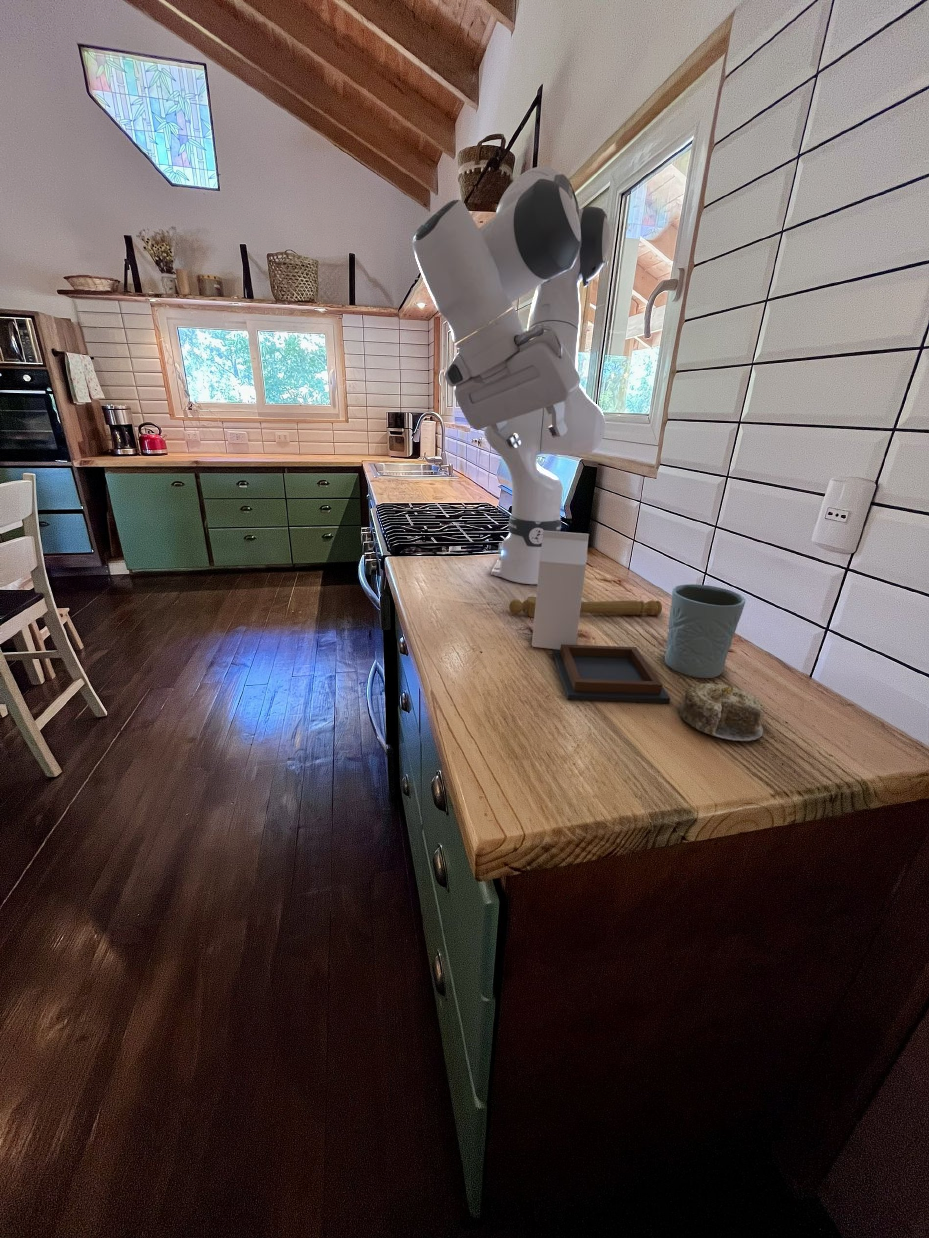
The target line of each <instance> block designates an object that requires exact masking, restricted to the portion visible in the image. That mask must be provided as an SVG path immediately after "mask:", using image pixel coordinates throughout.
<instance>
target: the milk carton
mask: <svg viewBox="0 0 929 1238" xmlns="http://www.w3.org/2000/svg"><path fill="white" fill-rule="evenodd" d="M589 536H590V534H589V533H582V532H569V531H560V532H557V531H543V538H542V546H541V554H540V562H539V573H538V584H536V593H535V594H536V596H535V597H536V605H535V616H534V617H533V628H532V640H531V647H533V648H541V649H542V648H543V649H550V650H560V649H561V644H564V645H577V638H578V630H579V623H580V615H581V613H580V608H581V602H582V599H583V591H584V584H585V578H586V577H585V576H586V569H587V559H588V547H589Z"/></svg>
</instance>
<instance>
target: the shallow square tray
mask: <svg viewBox="0 0 929 1238" xmlns="http://www.w3.org/2000/svg"><path fill="white" fill-rule="evenodd" d="M552 657H553V660H554V663H555V666H556V669H557V673H558V675H559V679H560V682H561V684H562V687H563V691H564V693H565V696H566V699H567V700H568V701H591V702H592V701H593V702H617V703H618V702H621V703H622V702H624V703H627V702H628V703H646V704H647V703H652V704H670V702H671V698H670V695H669V694H668V693H667V691H666V690H665V688H664V687H663V683H662V682H661V680H660V679H659V678H658V677H657V675H656V673H655V672H654V671H653V669H652V668H651V666H650V665H649V663H648V662H647V661H646V659H645V658H644V657H643V655H642V653H641V652H640V650H639V649H638V648H637V647H636V646H617V645H590V644H589V645H588V644H576V645H564V644H561V649H560V650H558V649H552Z"/></svg>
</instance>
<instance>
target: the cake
mask: <svg viewBox="0 0 929 1238" xmlns="http://www.w3.org/2000/svg"><path fill="white" fill-rule="evenodd" d="M678 713H679V715H680V717H681V718H682V720H684V721H685V722H686V723H687V724H689V725H690V726H691V727H692V728H694V729H696V730H697V731H700V732H702V733H704V734H707V735H710V736H712V737H716V738H719V739H724V740H728V741H736V742H737V741H739V742H750V741H756V740H758V739H760V738H762V737H763V734H764V728H763V724H762V721H763V717H764V715H763V714H764V711H763V704H761V701H760V700H759V699H758V698H757V697H756V696H754V695H751V694H750V693H749V692H745V691H743V690H740V689H738V688H736V687H733V686H728V685H725V684H720V683H719V684H718V683H717V684H713V683H700V684H695V685H694V686H691V687H690V686H689V687H687V688H686V689H685V692H684V703H682V704H681V705H680V706H679V708H678Z"/></svg>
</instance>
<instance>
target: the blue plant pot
mask: <svg viewBox="0 0 929 1238" xmlns="http://www.w3.org/2000/svg"><path fill="white" fill-rule="evenodd" d="M745 604H746V599H745V598H744V596H743V595H741V594H740V593H737V592H736V591H733V590H730V589H726V588H723V587H719V586H713V585H708V584H707V585H706V584H697V583H696V584H695V583H689V584H686V583H685V584H679V585H676V586H674V587H673V588H672V592H671V602H670V610H669V618H668V626H667V627H668V631H667V636H666V646H665V655H664V663H665V665H667V667H668V668H670V669H672V670H673V671H675V672H677V673H680V674H682V675H685V676H689V677H693V678H697V679H698V678H699V679H713V678H717V677H719V676H720V675H721V674H722V673H723V672H724V669H725V667H726V666H725V665H726V660H727V658H728V655H729V652H730V649H731V646H732V643H733V639H734V637H735V634H736V631H737V627H738V624H739V622H740V619H741V616H742V614H743V610H744V607H745Z"/></svg>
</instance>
